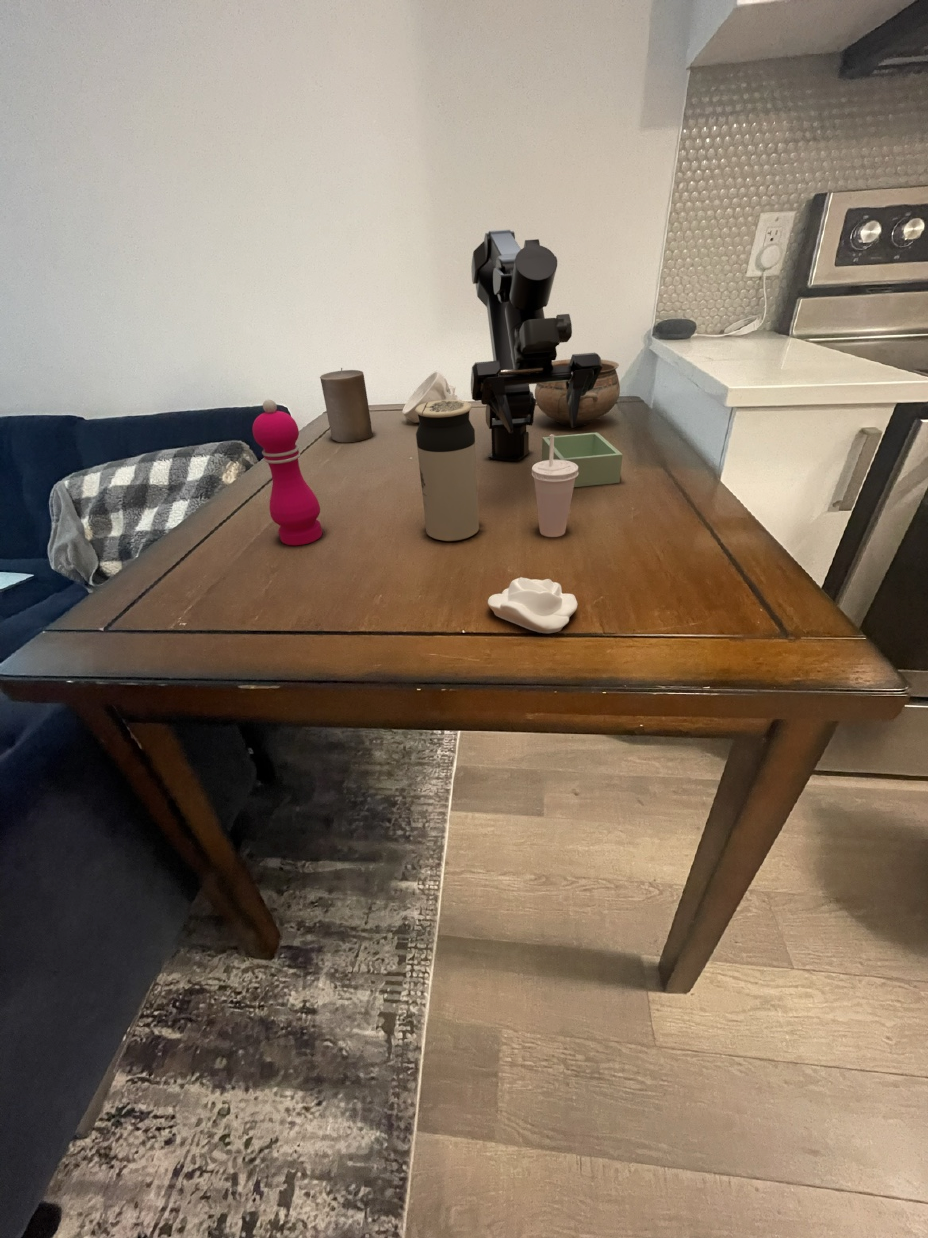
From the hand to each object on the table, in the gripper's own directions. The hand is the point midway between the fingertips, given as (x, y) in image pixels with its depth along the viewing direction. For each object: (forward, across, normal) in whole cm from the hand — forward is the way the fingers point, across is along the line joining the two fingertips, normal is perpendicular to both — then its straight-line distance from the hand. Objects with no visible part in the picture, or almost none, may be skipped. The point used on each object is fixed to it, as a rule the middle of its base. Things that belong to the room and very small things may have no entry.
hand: (542, 428), depth 79 cm
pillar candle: (-28, -33, +46) cm, 64 cm away
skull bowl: (-34, -13, +52) cm, 64 cm away
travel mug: (+12, -14, +6) cm, 20 cm away
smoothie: (+14, 0, +4) cm, 15 cm away
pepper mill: (+10, -37, +9) cm, 40 cm away
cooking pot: (-25, +19, +43) cm, 53 cm away
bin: (-2, +10, +20) cm, 23 cm away
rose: (+29, -8, -10) cm, 32 cm away
